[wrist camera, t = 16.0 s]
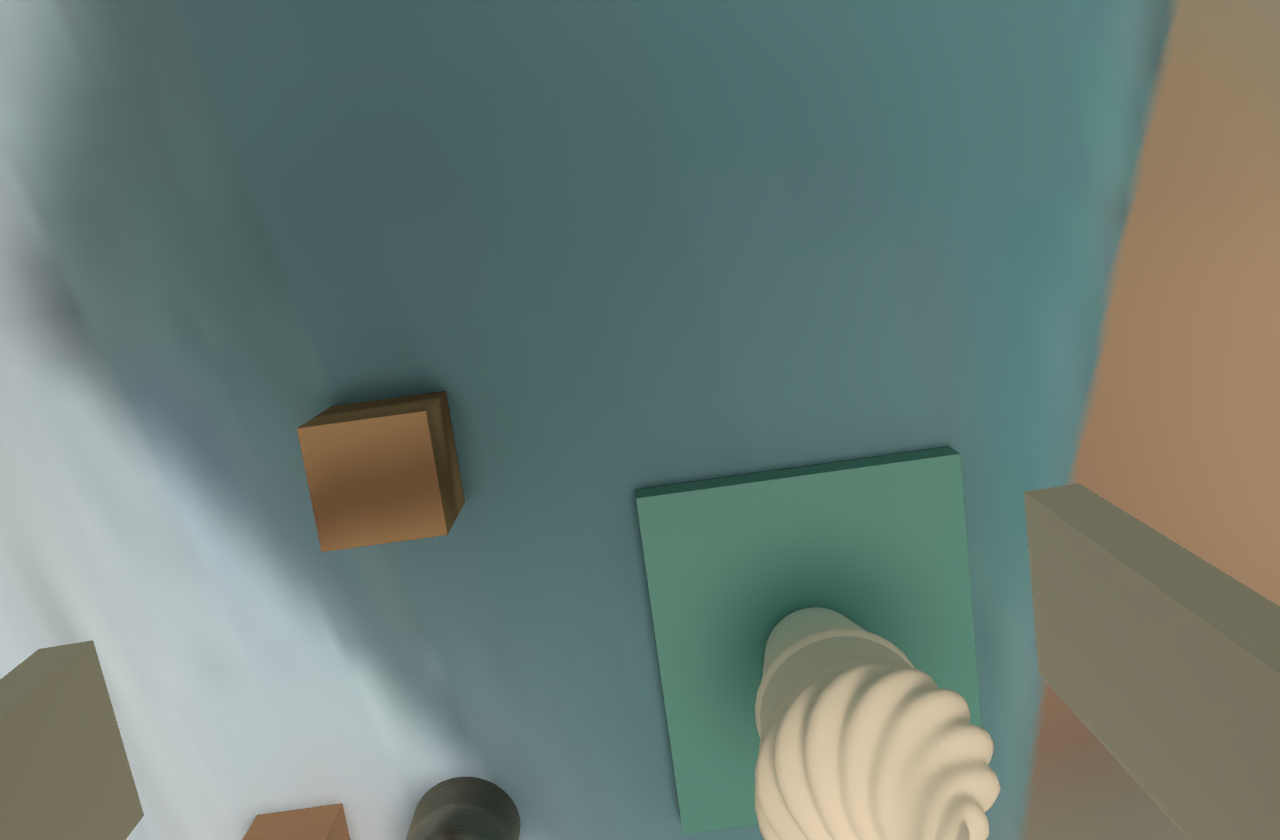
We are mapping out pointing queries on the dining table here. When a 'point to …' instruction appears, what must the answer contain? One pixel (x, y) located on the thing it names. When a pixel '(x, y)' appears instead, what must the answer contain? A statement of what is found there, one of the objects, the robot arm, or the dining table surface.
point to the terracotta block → (301, 825)
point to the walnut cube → (382, 471)
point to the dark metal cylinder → (465, 812)
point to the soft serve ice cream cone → (863, 741)
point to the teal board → (796, 596)
